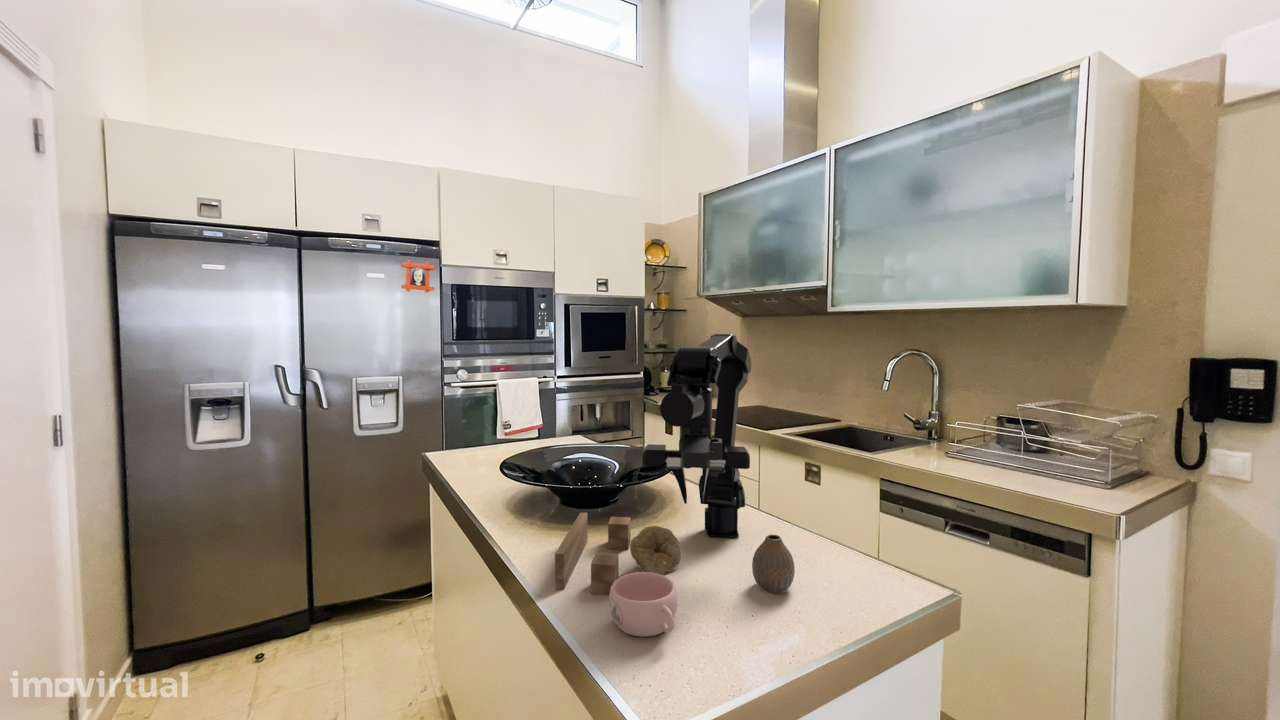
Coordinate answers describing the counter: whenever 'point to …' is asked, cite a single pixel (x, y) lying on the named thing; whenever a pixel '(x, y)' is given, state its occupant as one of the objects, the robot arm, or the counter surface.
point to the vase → (773, 565)
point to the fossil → (656, 550)
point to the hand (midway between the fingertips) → (695, 503)
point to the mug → (643, 603)
